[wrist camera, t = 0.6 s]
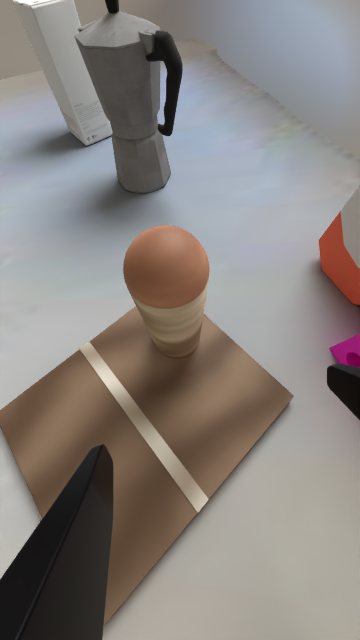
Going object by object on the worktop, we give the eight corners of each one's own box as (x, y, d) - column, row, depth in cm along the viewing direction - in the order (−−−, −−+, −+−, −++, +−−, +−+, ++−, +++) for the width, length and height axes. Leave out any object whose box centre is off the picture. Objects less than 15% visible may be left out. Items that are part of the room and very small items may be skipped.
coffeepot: (99, 177, 36) (26, -17, 20) (136, 152, 39) (99, -36, 23) (164, 213, 32) (138, 0, 15) (201, 182, 35) (212, -26, 18)
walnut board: (289, 396, 20) (294, 395, 19) (102, 620, 14) (95, 636, 13) (168, 286, 26) (168, 281, 25) (3, 414, 20) (-6, 414, 19)
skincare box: (113, 136, 42) (75, -6, 28) (84, 148, 40) (29, 5, 26) (94, 121, 45) (51, -14, 31) (67, 131, 43) (8, -5, 29)
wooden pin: (209, 336, 22) (236, 239, 10) (174, 368, 21) (154, 303, 8) (178, 307, 24) (167, 191, 11) (144, 334, 22) (90, 238, 10)
